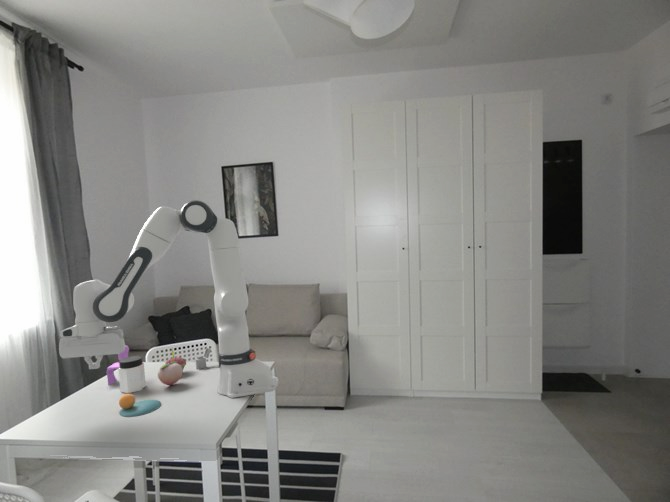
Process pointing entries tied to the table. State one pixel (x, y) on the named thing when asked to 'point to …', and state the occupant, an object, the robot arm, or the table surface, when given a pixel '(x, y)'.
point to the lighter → (202, 359)
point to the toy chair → (116, 366)
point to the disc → (141, 408)
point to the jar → (131, 374)
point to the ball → (127, 401)
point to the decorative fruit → (170, 373)
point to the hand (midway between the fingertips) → (94, 368)
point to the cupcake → (177, 360)
